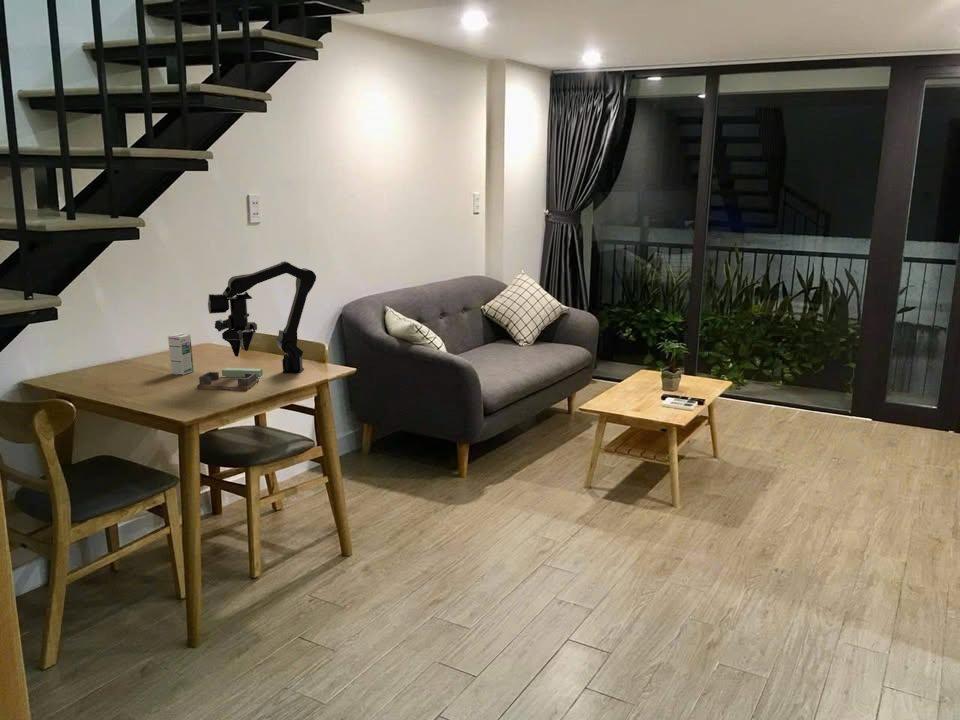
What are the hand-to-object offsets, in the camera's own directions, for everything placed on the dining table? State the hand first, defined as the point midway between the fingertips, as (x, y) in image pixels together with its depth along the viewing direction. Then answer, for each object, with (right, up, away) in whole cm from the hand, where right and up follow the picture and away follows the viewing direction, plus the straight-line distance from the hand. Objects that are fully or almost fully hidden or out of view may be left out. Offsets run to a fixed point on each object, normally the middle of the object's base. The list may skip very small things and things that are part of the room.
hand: (241, 353), depth 294 cm
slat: (0, -9, +2) cm, 9 cm away
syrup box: (-24, -7, +6) cm, 26 cm away
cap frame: (-1, -11, -11) cm, 16 cm away
